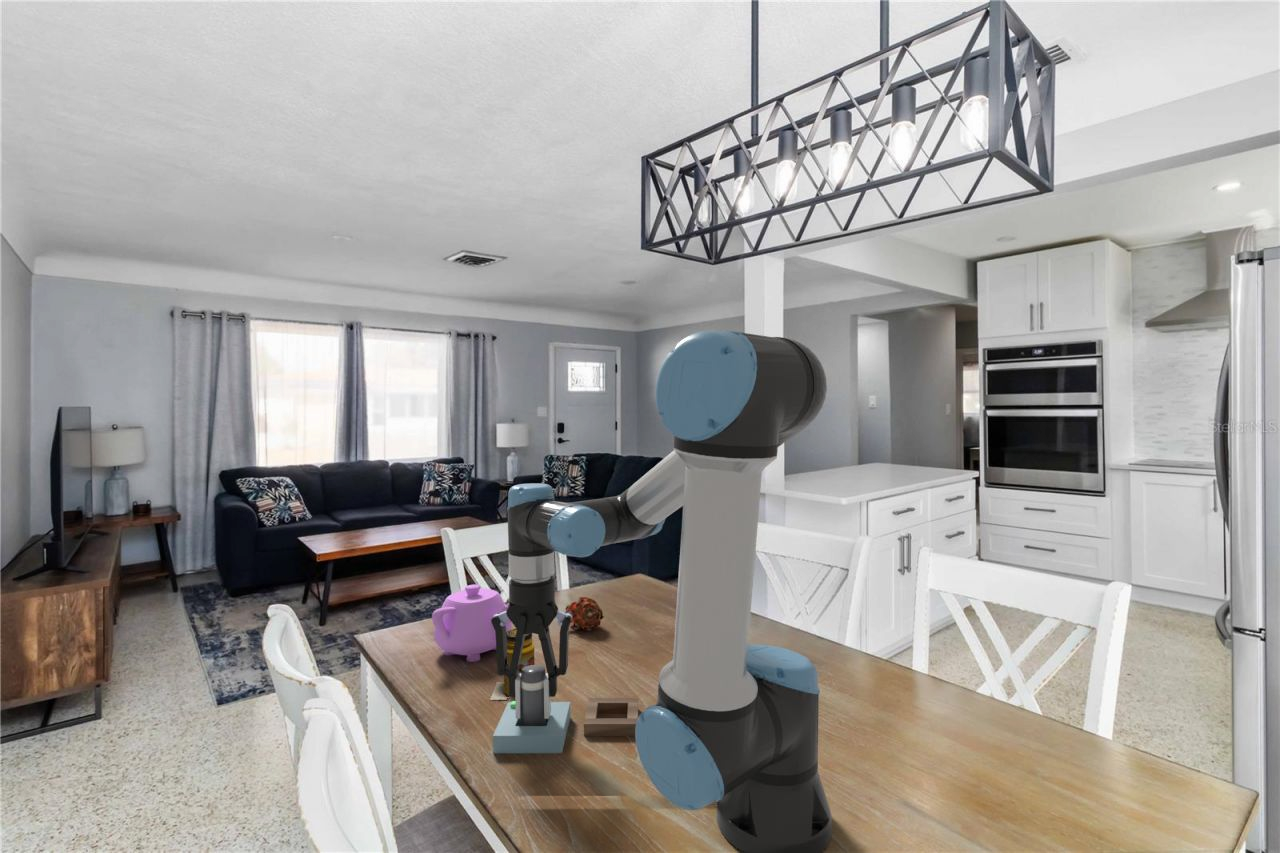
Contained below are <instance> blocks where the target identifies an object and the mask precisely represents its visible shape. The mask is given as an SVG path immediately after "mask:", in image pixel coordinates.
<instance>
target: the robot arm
mask: <svg viewBox="0 0 1280 853" xmlns="http://www.w3.org/2000/svg"><path fill="white" fill-rule="evenodd" d="M827 388H828V387H827V377H826V373H825V369H824V367H823V365H822V363H821V361H820V360H819V358H818V357H817V355H816V354H815V353H814V352H813V351H812V350H811V349H810V348H809V347H807V346H806V345H804V344H803V343H801V342H799V341H796V340H795V339H791V338H787V337H781V336H768V335H767V336H766V335H761V334H753V333H749V332H748V333H747V332H739V331H732V330H731V331H730V330H728V329H726V330H708V331H707V330H706V331H698V332H695V333H692V334H690V335H688V336H686V337H685V338H682V340H680V341H679V342H677V343H676V346H675V348H674V349H672V350H670V352H668V354H667V356H666V357H665V358H664V361H663V362H662V364H661V367H660V369H659V372H658V375H657V378H656V384H655V404H656V405H655V406H656V410H657V413H658V414H659V416H661V417H662V418H661V420H660V421H661V424H662V425H663V427H665V429H666V430H667V431H668V432H670V434H672V435H673V436H674V439H673V451H671V452H670V453H669V454H668V455H666V456H665V457H664V458H663V459H662V460H661V461H659V462H657V464H656V465H655V466H654V467H652V468H651V469H650V470H648V471H647V472H646V473H645V474H644V475H643V476H641V477H640V478H639V479H638V480H637V481H635V482H634V483H633V484H632V485H630V486H629V488H627V489H625V491H623V492H622V493H621V494H618V495H615V496H609V497H601V498H596V499H595V498H594V499H588V500H580V501H574V502H563V501H556V500H555V494H554V488H553V487H552V486H551V485H550V484H548V483H547V484H546V483H541V482H540V483H534V482H533V483H532V482H531V483H519V484H516V485H513V486H511V487H510V488H509V490H508V493H507V495H508V496H507V498H508V499H507V508H506V512H507V538H508V577H510V578H509V580H508V604H509V606H508V608H507V611H505V612H502V613H499V612H497V613H496V614H495V615H494V616H493V618H492V619H491V622H492V625H493V627H494V629H495V634H496V650H495V651H496V652H495V653H496V667H497V668H496V669H497V675H498V676H501V677H502V676H504V675H505V676H507V677H508V678H509V695H510V697H509V698H514V699H515V700H514V701H515V707H516V719H520V718H521V715H522V701H521V673H518V670H519V665H520V660H521V655H522V650H523V645H524V640H525V635H526V634H529V633H532V634H535V635H537V636H538V640H539V641H540V646H541V651H542V655H543V659H544V664H545V670H546V672H545V678H544V719H549V716H550V713H551V702H552V697H553V698H556V694H557V692H558V677H559V676H564V675H566V674H567V670H568V666H569V640H570V638H569V637H570V636H569V635H570V634H569V633H570V625H571V623H570V622H571V620H572V617H573V614H572V613H571V612H567V613H565V611H563V610H559V608H558V605H557V603H556V599H555V598H556V594H555V593H556V590H555V589H556V587H555V586H556V582H555V577H554V576H553V575H554V574H555V552H557V553H559V554H562V555H564V556H568V557H577V558H586V557H590V556H592V555H593V554H594V553H595V552H596V551H598V550H599V549H600V547H603V546H608V545H612V544H616V543H617V544H618V543H623V542H628V541H633V540H643V539H645V538H648V537H651V536H653V535H657V534H658V533H660V532H661V530H662V529H663V525H664V524H665V523H666V522H665V521H666V519H667V517H669V516H670V515H672V514H673V513H674V512H676V511H678V510H679V509H681V508H682V517H681V518H682V519H681V535H680V547H679V548H680V550H679V553H680V554H679V561H678V562H679V564H678V578H677V591H676V592H677V593H676V594H677V595H676V609H675V611H676V612H675V626H674V637H673V638H674V640H673V652H672V653H673V654H672V660H670V661H669V662H668V663H666V664H665V665H664V666H663V667H662V668H661V670H660V672H659V675H658V676H659V677H658V688H657V701H656V703H655V704H652V705H649V706H647V707H646V708H645V709H644V711H643V712H641V713H640V714H638V719H637V722H636V727H635V736H634V738H635V744H636V750H637V753H638V757H639V759H640V762H641V765H642V767H643V769H644V770H645V772H646V774H647V776H648V778H649V780H650V781H651V783H652V784H653V786H654V788H655V789H656V790H657V791H658V792H659V793H660V794H661V795H662V797H664V798H665V799H666V800H667V801H669V803H671V804H672V805H674V806H675V807H677V808H680V809H682V810H685V811H693V812H694V811H699V810H701V809H703V808H706V807H707V806H708V805H711V804H713V803H716V822H717V825H718V828H719V830H720V832H721V834H722V835H723V836H724V838H725V839H726V840H727V841H728V842H729V843H730V844H731V845H732V846H734V847H735V848H736V849H738V850H739V851H741V852H743V853H822V852H823V851H824V850H826V848H827V847H828V845H829V843H830V842H831V839H832V812H831V807H830V805H829V802H828V798H827V796H826V793H825V789H824V786H823V783H822V779H821V777H820V773H819V766H818V765H819V759H818V758H819V707H820V706H819V703H820V702H819V701H820V700H819V698H820V697H819V696H820V693H821V691H820V688H819V679H818V678H819V676H818V674H819V673H818V669H817V667H816V666H815V664H814V663H813V662H812V660H811V659H809V658H808V657H806V656H804V655H802V654H801V653H798V652H796V651H793V650H791V649H787V648H783V647H779V646H775V645H774V646H773V645H767V644H749V637H750V625H751V613H752V612H751V610H752V599H753V598H752V597H753V589H754V588H753V586H754V574H755V562H756V553H757V552H756V549H757V536H758V525H759V524H758V523H759V512H760V500H761V488H762V476H763V471H764V470H765V468H767V467H768V466H769V465H770V464H771V463H772V462H774V461H775V460H777V457H778V448H779V447H780V446H782V445H783V444H784V443H786V442H787V441H789V440H790V439H792V438H793V437H795V436H796V435H798V434H799V433H800V432H801V431H802V432H803V430H804V429H806V428H807V427H808V426H809V425H810V424H811V423H812V422H813V421H815V419H816V418H817V416H818V415H819V413H821V410H822V409H823V407H824V406H823V405H824V404H825V400H826V396H827V391H828V390H827ZM507 618H509V619H510V621H511V624H512V625H513V626H514V627H515V628H516V629H517V632H516V637H515V644H514V649H513V654H512V659H511V664H510V665H508V658H507V638H506V624H507ZM555 618H556V619H557V625H558V626H559V627H560V628H559V630H560V631H559V644H558V645H559V646H558V647H559V650H558V651H559V655H558V656H559V657H558V665H557V662H556V657H555V652H554V647H553V644H552V638H551V634H550V627H549V626H550V625H551V624H552V622H553V621H554V619H555Z"/></svg>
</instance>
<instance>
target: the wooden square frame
mask: <svg viewBox="0 0 1280 853" xmlns="http://www.w3.org/2000/svg"><path fill="white" fill-rule="evenodd" d="M638 717H639V697H589V698H588V700H587V706H586V711H585V717H584V723H583V737H635V727H636V722H637V719H638Z"/></svg>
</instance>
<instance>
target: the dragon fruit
mask: <svg viewBox="0 0 1280 853" xmlns="http://www.w3.org/2000/svg"><path fill="white" fill-rule="evenodd" d="M567 612H571V613H572V614H573V617H572V620H571V622H570V624H572V623H573V624H572V627H573V629H574V630H576V631H578V630H581V629H582V630H583V631H592V630H593V628H598V627H600V626H601V620H603V619H604V618H605V616H604V613H603V610H602V608H601V606H600V605H599V604H598V603H597V601H596V600H595V599H593V598H592V597H588V596H587V597H586V596H579V597H578V601H573V602H570V604H568V605H567V606H566V607H565V611H564V613H567Z"/></svg>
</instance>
